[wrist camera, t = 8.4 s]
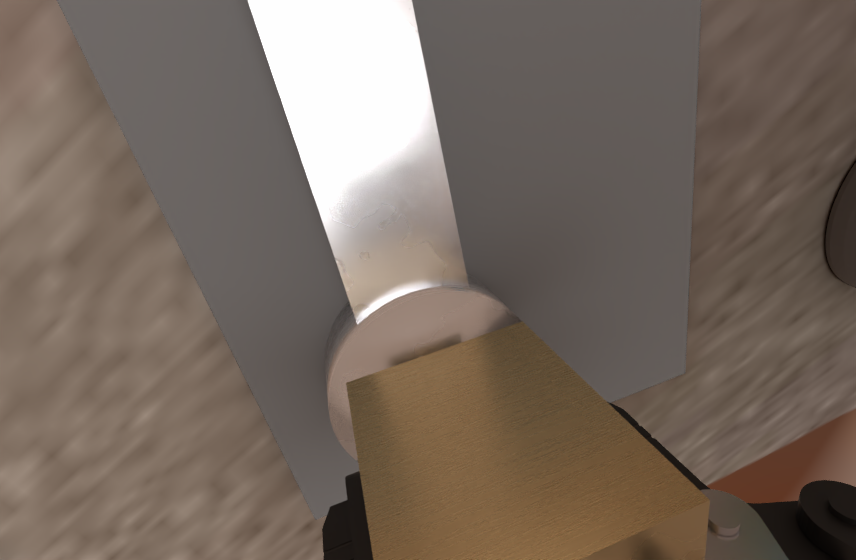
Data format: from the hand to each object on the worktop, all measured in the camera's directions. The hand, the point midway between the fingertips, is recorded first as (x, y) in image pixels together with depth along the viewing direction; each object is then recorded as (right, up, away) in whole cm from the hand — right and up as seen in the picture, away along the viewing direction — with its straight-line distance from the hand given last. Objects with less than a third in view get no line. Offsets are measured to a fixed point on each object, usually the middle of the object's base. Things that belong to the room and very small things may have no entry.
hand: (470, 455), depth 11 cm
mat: (0, +7, +4) cm, 8 cm away
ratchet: (-2, +6, +3) cm, 7 cm away
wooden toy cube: (0, 0, +1) cm, 1 cm away
